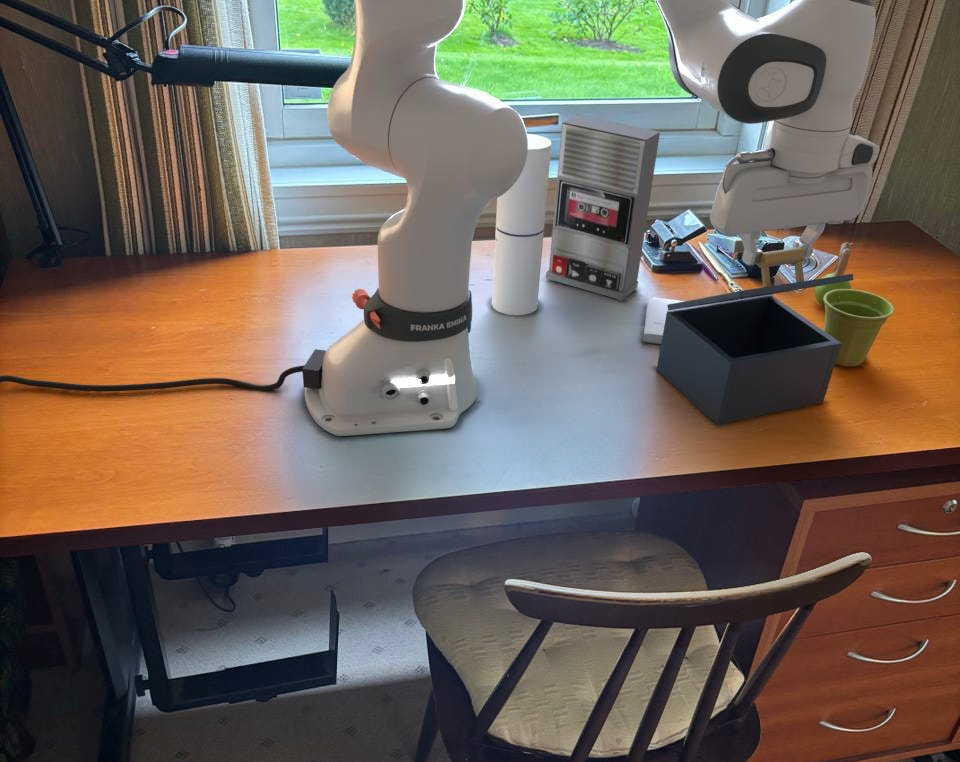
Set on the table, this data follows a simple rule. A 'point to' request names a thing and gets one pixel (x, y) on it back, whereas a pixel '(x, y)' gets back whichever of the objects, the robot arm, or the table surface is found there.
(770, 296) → the chest
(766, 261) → the lid
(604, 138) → the cassette tape recorder
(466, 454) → the table surface
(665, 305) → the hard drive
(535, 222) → the cylindrical container
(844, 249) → the green maraca
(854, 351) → the plant pot
